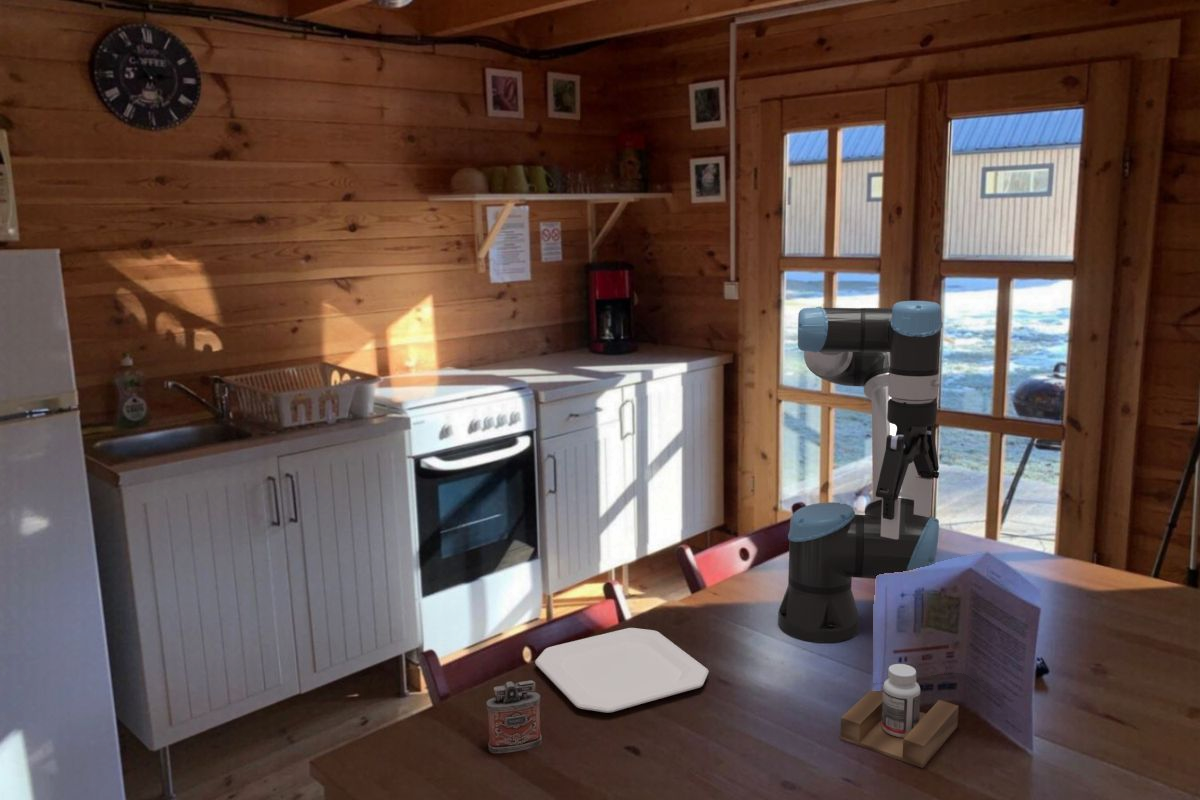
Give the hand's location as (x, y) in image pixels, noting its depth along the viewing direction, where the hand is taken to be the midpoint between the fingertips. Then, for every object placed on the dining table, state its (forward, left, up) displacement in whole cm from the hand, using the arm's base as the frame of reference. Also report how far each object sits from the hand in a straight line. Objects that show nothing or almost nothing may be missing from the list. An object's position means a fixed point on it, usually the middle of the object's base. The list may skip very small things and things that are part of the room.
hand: (906, 526), depth 158 cm
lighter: (-37, -55, -27) cm, 72 cm away
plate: (-38, -28, -27) cm, 55 cm away
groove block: (+7, -17, -27) cm, 32 cm away
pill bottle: (+7, -17, -26) cm, 32 cm away
